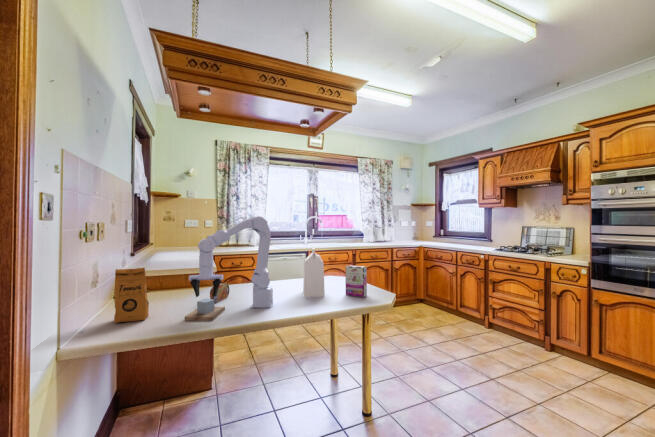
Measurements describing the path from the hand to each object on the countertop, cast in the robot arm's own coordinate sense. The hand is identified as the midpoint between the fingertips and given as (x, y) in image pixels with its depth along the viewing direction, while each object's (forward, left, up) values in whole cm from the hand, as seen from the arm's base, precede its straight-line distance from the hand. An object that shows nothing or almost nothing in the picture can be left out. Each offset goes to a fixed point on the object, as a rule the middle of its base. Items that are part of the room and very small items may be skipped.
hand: (206, 296), depth 128 cm
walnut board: (0, 0, -8) cm, 8 cm away
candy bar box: (-70, -33, -9) cm, 78 cm away
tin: (+3, -24, -9) cm, 26 cm away
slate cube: (0, 0, -7) cm, 7 cm away
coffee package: (+29, +6, -9) cm, 31 cm away
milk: (-46, -36, -9) cm, 59 cm away
